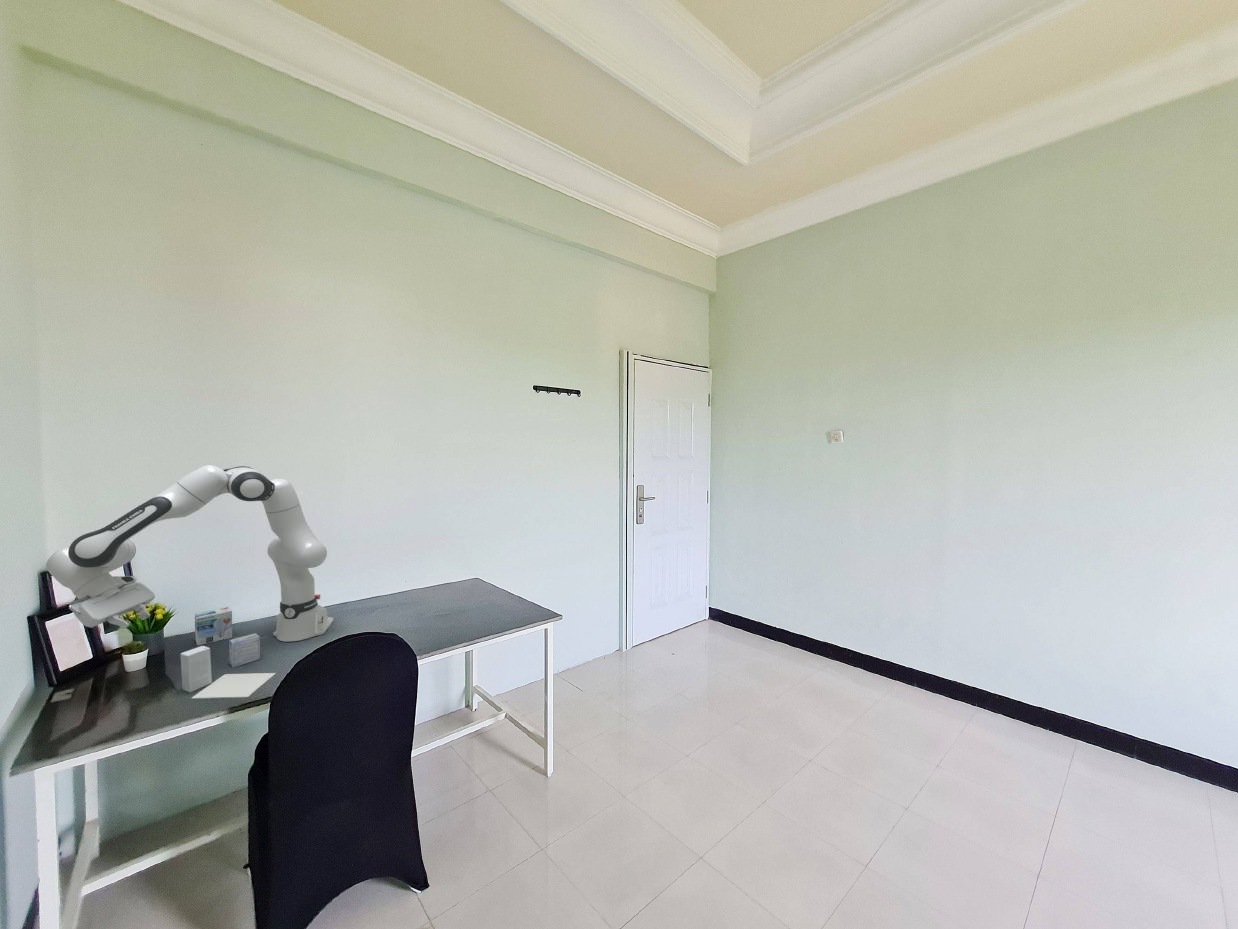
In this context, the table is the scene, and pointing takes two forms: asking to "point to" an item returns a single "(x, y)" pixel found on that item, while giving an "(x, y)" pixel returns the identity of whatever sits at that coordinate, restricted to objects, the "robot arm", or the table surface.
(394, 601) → the table surface
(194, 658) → the skincare box
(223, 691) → the off-white mat
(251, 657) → the medicine box
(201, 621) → the light bulb box
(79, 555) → the robot arm
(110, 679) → the table surface
